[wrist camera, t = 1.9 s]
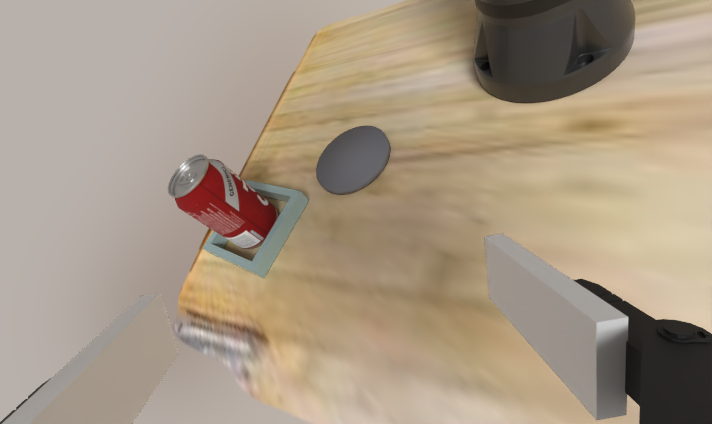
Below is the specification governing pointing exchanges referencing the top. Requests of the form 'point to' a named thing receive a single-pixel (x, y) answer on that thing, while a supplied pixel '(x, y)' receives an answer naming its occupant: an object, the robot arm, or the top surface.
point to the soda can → (222, 201)
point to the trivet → (353, 160)
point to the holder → (275, 236)
